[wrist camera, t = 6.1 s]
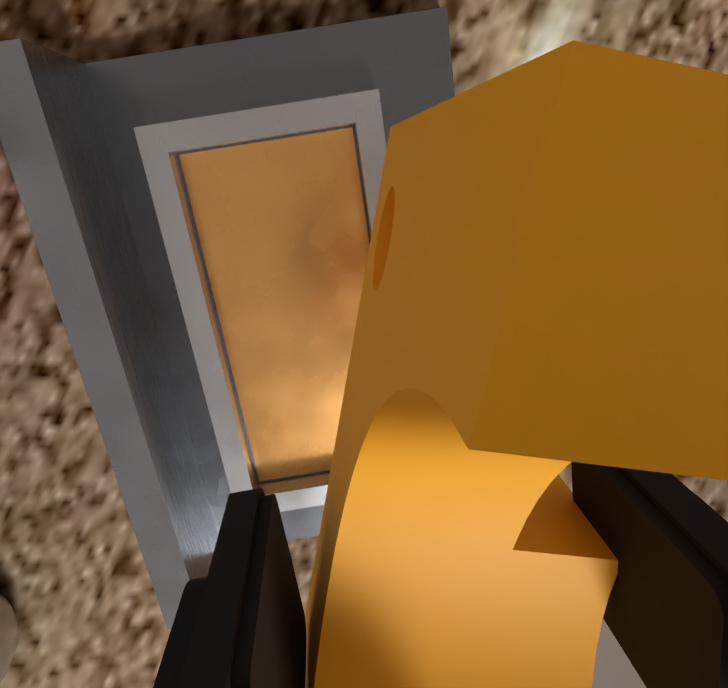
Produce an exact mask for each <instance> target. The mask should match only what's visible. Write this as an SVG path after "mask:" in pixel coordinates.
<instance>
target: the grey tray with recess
mask: <svg viewBox="0 0 728 688" xmlns="http://www.w3.org/2000/svg"><path fill="white" fill-rule="evenodd" d="M453 97H455V95H454V84H453V72H452V61H451V50H450V39H449V27H448V16H447V7H442V8H436V9H429V10H423V11H417V12H410V13H404V14H397V15H391V16H385V17H378V18H372V19H366V20H359V21H353V22H346V23H340V24H334V25H327V26H321V27H314V28H308V29H302V30H295V31H289V32H283V33H276V34H270V35H263V36H257V37H251V38H244V39H238V40H232V41H225V42H219V43H212V44H206V45H200V46H193V47H187V48H181V49H174V50H168V51H161V52H155V53H149V54H142V55H136V56H129V57H123V58H117V59H110V60H104V61H98V62H91V63H82V62H79V61H77V60H74V59H72V58H69V57H67V56H64V55H61V54H59V53H56V52H54V51H51V50H48V49H46V48H43V47H41V46H38V45H36V44H33V43H30V42H28V41H25V40H23V39H20V38H19V39H13V40H7V41H0V140H1V142H2V145H3V148H4V151H5V154H6V157H7V160H8V163H9V166H10V169H11V172H12V175H13V178H14V181H15V183H16V186H17V189H18V192H19V195H20V198H21V201H22V204H23V207H24V210H25V213H26V216H27V219H28V221H29V224H30V227H31V230H32V233H33V236H34V239H35V242H36V245H37V248H38V251H39V254H40V257H41V260H42V262H43V265H44V268H45V271H46V274H47V277H48V280H49V283H50V286H51V289H52V292H53V295H54V298H55V301H56V303H57V306H58V309H59V312H60V315H61V318H62V321H63V324H64V327H65V330H66V333H67V336H68V339H69V341H70V344H71V347H72V350H73V353H74V356H75V359H76V362H77V365H78V368H79V371H80V374H81V377H82V380H83V382H84V385H85V388H86V391H87V394H88V397H89V400H90V403H91V406H92V409H93V412H94V415H95V418H96V420H97V423H98V426H99V429H100V432H101V435H102V438H103V441H104V444H105V447H106V450H107V453H108V456H109V459H110V461H111V464H112V467H113V470H114V473H115V476H116V479H117V482H118V485H119V488H120V491H121V494H122V497H123V499H124V502H125V505H126V508H127V511H128V514H129V517H130V520H131V523H132V526H133V529H134V532H135V535H136V538H137V540H138V543H139V546H140V549H141V552H142V555H143V558H144V561H145V564H146V567H147V570H148V573H149V576H150V579H151V581H152V584H153V587H154V590H155V593H156V596H157V599H158V602H159V605H160V608H161V611H162V614H163V617H164V619H165V622H166V625H167V628H168V629H170V628H172V625H173V622H174V619H175V616H176V612H177V609H178V606H179V603H180V600H181V596H182V593H183V590H184V588H185V585H186V583H187V582H188V581H189V580H190V579H196V578H201V577H207V576H208V572H209V568H210V565H211V561H212V557H213V553H214V549H215V545H216V542H217V538H218V534H219V530H220V526H221V523H222V519H223V515H224V511H225V507H226V504H227V500H228V496H229V494H230V493H234V492H240V491H246V490H251V489H257V488H262V489H263V490H264V493H265V495H271V494H275V495H276V498H277V501H278V505H279V509H280V514H281V518H282V522H283V526H284V530H285V535H286V539H287V540H292V539H298V538H304V537H310V536H316V535H319V533H320V527H321V521H322V516H323V510H324V504H325V499H326V493H327V487H328V481H329V476H330V470H331V464H332V458H333V453H334V447H335V441H336V435H337V430H338V424H339V418H340V413H341V407H342V401H343V395H344V390H345V384H346V378H347V372H348V367H349V361H350V355H351V349H352V344H353V338H354V332H355V326H356V321H357V315H358V309H359V304H360V298H361V292H362V286H363V281H364V275H365V269H366V263H367V258H368V252H369V246H370V240H371V235H372V229H373V223H374V218H375V212H376V206H377V200H378V195H379V189H380V183H381V177H382V172H383V166H384V160H385V154H386V149H387V143H388V137H389V132H390V127H391V126H393V125H395V124H397V123H399V122H402V121H404V120H406V119H408V118H410V117H412V116H414V115H416V114H419V113H421V112H423V111H425V110H427V109H429V108H431V107H433V106H436V105H438V104H440V103H442V102H444V101H446V100H448V99H450V98H453Z"/></svg>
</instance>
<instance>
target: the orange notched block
mask: <svg viewBox="0 0 728 688" xmlns="http://www.w3.org/2000/svg"><path fill="white" fill-rule="evenodd" d="M571 462H578V463H586V464H595V465H603V466H611V467H620V468H628V469H636V470H645V471H653V472H661V473H670V474H678V475H686V476H694V477H703V478H711V479H719V480H728V75H727V74H723V73H718V72H714V71H709V70H705V69H700V68H696V67H691V66H686V65H682V64H677V63H673V62H668V61H664V60H659V59H655V58H650V57H646V56H641V55H636V54H632V53H627V52H623V51H618V50H614V49H609V48H605V47H600V46H596V45H591V44H586V43H582V42H577V41H571V42H569V43H567V44H565V45H563V46H561V47H559V48H557V49H554V50H552V51H550V52H548V53H546V54H544V55H542V56H540V57H537V58H535V59H533V60H531V61H529V62H527V63H525V64H523V65H520V66H518V67H516V68H514V69H512V70H510V71H508V72H506V73H503V74H501V75H499V76H497V77H495V78H493V79H491V80H489V81H487V82H484V83H482V84H480V85H478V86H476V87H474V88H472V89H470V90H467V91H465V92H463V93H461V94H459V95H457V96H455V97H453V98H450V99H448V100H446V101H444V102H442V103H440V104H438V105H436V106H433V107H431V108H429V109H427V110H425V111H423V112H421V113H419V114H416V115H414V116H412V117H410V118H408V119H406V120H404V121H402V122H399V123H397V124H395V125H393V126H391V127H390V132H389V137H388V143H387V149H386V154H385V160H384V166H383V172H382V177H381V183H380V189H379V195H378V200H377V206H376V212H375V218H374V223H373V229H372V235H371V240H370V246H369V252H368V258H367V263H366V269H365V275H364V281H363V286H362V292H361V298H360V304H359V309H358V315H357V321H356V326H355V332H354V338H353V344H352V349H351V355H350V361H349V367H348V372H347V378H346V384H345V390H344V395H343V401H342V407H341V413H340V418H339V424H338V430H337V435H336V441H335V447H334V453H333V458H332V464H331V470H330V476H329V481H328V487H327V493H326V499H325V504H324V510H323V516H322V521H321V527H320V533H319V539H318V544H317V550H316V556H315V562H314V567H313V573H312V579H311V585H310V590H309V596H308V602H307V607H306V613H305V622H306V683H305V688H592V685H593V673H594V665H595V658H596V649H597V644H598V639H599V634H600V629H601V624H602V620H603V616H604V613H605V609H606V606H607V602H608V598H609V595H610V593H611V590H612V587H613V585H614V582H615V579H616V577H617V574H618V559H617V558H616V557H615V555H614V554H613V553H612V551H611V550H610V549H609V547H608V546H607V545H606V543H605V542H604V541H603V539H602V538H601V537H600V535H599V534H598V533H597V531H596V530H595V529H594V527H593V526H592V525H591V523H590V522H589V521H588V519H587V518H586V517H585V515H584V514H583V513H582V511H581V510H580V509H579V507H578V506H577V505H576V503H575V502H574V501H573V493H572V492H571V491H570V489H569V488H568V487H567V485H566V484H565V483H564V481H563V480H562V479H561V477H560V476H559V475H558V474H559V473H560V472H561V471H562V470H563V469H564V468H565V467H566V466H567V465H568V464H570V463H571Z"/></svg>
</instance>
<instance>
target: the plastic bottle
mask: <svg viewBox="0 0 728 688" xmlns="http://www.w3.org/2000/svg"><path fill="white" fill-rule="evenodd" d="M17 644H18V626H17V619H16V615H15V612H14V610H13V608H12V606H11V605H10V603H9V602H8V601H7V600H6V599H5V598H4V597H3V596H2V595H1V594H0V683H1V681H2V680H3V678H4V676H5V675H6V672H7V670H8V668H9V665H10V663H11V660H12V658H13V656H14V653H15V651H16V648H17Z"/></svg>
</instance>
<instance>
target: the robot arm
mask: <svg viewBox="0 0 728 688" xmlns="http://www.w3.org/2000/svg"><path fill="white" fill-rule="evenodd" d="M572 488H573V501H574V502H575V503H576V505H577V506H578V507H579V509H580V510H581V511H582V513H583V514H584V515H585V517H586V518H587V519H588V521H589V522H590V523H591V525H592V526H593V527H594V529H595V530H596V531H597V533H598V534H599V535H600V537H601V538H602V539H603V541H604V542H605V543H606V545H607V546H608V547H609V549H610V550H611V551H612V553H613V554H614V555H615V557H616V558H617V559H618V574H617V577H616V579H615V582H614V585H613V587H612V590H611V593H610V595H609V598H608V602H607V606H606V609H605V613H604V616H603V619H604V620H605V622H606V623H607V625H608V626H609V628H610V630H611V631H612V633H613V635H614V636H615V638H616V639H617V641H618V642H619V644H620V646H621V647H622V649H623V650H624V652H625V654H626V655H627V657H628V658H629V660H630V661H631V663H632V665H633V667H634V668H635V670H636V671H637V673H638V674H639V676H640V678H641V679H642V681H643V682H644V684H645V685H646V687H647V688H728V522H727V521H726V520H725V519H723V518H722V517H721V516H720V515H719V514H718V513H717V512H715V511H714V510H713V509H712V508H711V507H710V506H709V505H707V504H706V503H705V502H704V501H703V500H702V499H701V498H700V497H698V496H697V495H695V494H694V493H693V492H692V491H691V490H689V489H688V488H687V487H686V486H685V485H684V484H683V483H681V482H680V481H679V480H678V479H677V478H676V477H675V476H674V475H672V474H670V473H661V472H653V471H645V470H636V469H628V468H620V467H611V466H603V465H595V464H586V463H578V462H572ZM305 683H306V622H305V615H304V610H303V606H302V602H301V598H300V593H299V589H298V585H297V581H296V577H295V572H294V568H293V564H292V560H291V556H290V551H289V547H288V543H287V539H286V535H285V530H284V526H283V522H282V518H281V514H280V509H279V505H278V501H277V498H276V495H275V494H271V495H265V493H264V490H263V489H262V488H257V489H251V490H246V491H240V492H234V493H230V494H229V496H228V500H227V504H226V507H225V511H224V515H223V519H222V523H221V526H220V530H219V534H218V538H217V542H216V545H215V549H214V553H213V557H212V561H211V565H210V568H209V572H208V576H207V577H201V578H196V579H190V580H189V581H188V582H187V583H186V585H185V588H184V590H183V593H182V596H181V600H180V603H179V606H178V609H177V612H176V616H175V619H174V622H173V625H172V629H171V632H170V635H169V638H168V642H167V645H166V648H165V651H164V654H163V658H162V661H161V664H160V667H159V671H158V674H157V677H156V680H155V683H154V687H153V688H305Z"/></svg>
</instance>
